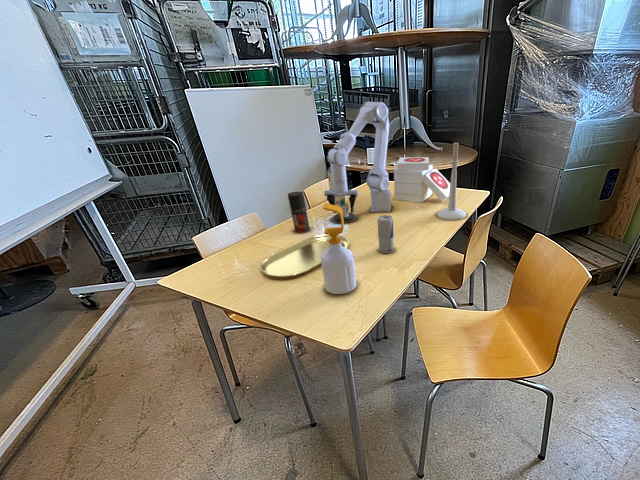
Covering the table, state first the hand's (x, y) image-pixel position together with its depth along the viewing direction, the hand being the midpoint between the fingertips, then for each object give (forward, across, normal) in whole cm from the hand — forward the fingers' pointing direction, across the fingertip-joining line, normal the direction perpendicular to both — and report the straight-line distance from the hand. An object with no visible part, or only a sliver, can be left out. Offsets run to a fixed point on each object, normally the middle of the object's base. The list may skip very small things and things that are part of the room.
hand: (343, 212), depth 147 cm
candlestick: (+3, +47, +6) cm, 48 cm away
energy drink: (+3, +22, -32) cm, 39 cm away
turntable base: (+3, 0, 0) cm, 3 cm away
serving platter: (+3, -5, -38) cm, 38 cm away
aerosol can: (+3, -7, +20) cm, 21 cm away
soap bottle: (+3, +12, -58) cm, 59 cm away
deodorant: (+3, -15, -13) cm, 20 cm away
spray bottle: (+2, 0, 0) cm, 2 cm away
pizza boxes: (+3, +34, +33) cm, 48 cm away
